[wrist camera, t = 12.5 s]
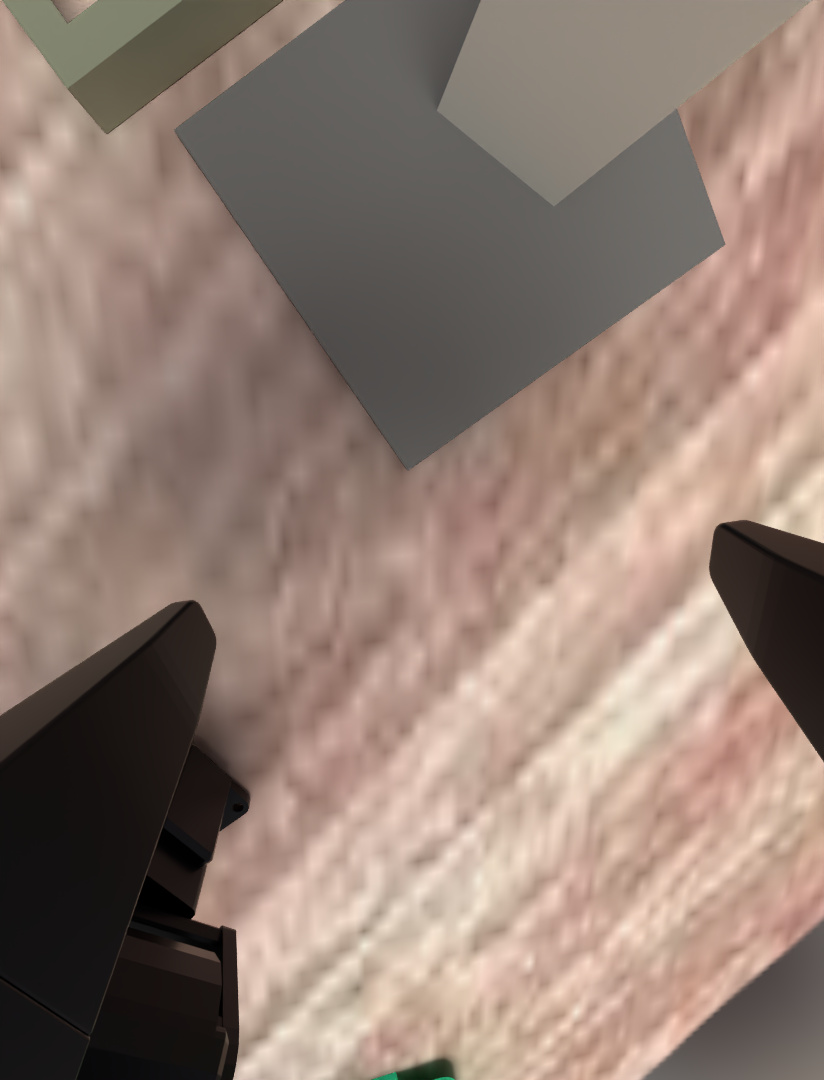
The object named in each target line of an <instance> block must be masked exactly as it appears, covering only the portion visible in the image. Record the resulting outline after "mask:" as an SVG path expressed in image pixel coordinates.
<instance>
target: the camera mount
mask: <svg viewBox="0 0 824 1080" xmlns="http://www.w3.org/2000/svg"><path fill="white" fill-rule="evenodd" d="M372 1080H398V1077H397V1074H396V1072H394V1073H391V1074H388V1075H385V1076H382V1077H378V1078H375V1079H372ZM434 1080H455V1079H453V1078H450V1077H441V1078H437V1079H434Z"/></svg>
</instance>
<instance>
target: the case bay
mask: <svg viewBox="0 0 824 1080" xmlns="http://www.w3.org/2000/svg"><path fill="white" fill-rule="evenodd" d="M2 1H3V2H4V3H5V5H6V6H7V7H8V9H9V10H10V11H11V13H12V14H13V15H14V17H15V18H16V20H17V21H18V22H19V24H20V25H21V26H22V28H23V29H24V30H25V32H26V33H27V35H28V36H29V37H30V39H31V40H32V41H33V43H34V44H35V45H36V47H37V48H38V49H39V51H40V52H41V54H42V55H43V56H44V58H45V59H46V60H47V62H48V63H49V64H50V66H51V67H52V69H53V70H54V71H55V73H56V74H57V75H58V77H59V78H60V79H61V81H62V82H63V83H64V85H65V86H66V88H67V89H68V90H69V91H70V92H71V93H72V95H73V96H74V97H75V98H76V99H77V100H78V102H79V103H80V104H81V105H82V106H83V107H84V109H85V110H86V111H87V112H88V113H89V114H90V116H91V117H92V118H93V119H94V120H95V121H96V123H97V124H98V125H99V126H100V127H101V128H102V129H103V131H104V132H105V133H106V134H107V133H109V132H110V131H111V130H113V129H114V128H115V127H117V126H118V125H119V124H121V123H122V122H123V121H125V120H126V119H127V118H128V117H130V116H131V115H132V114H134V113H135V112H136V111H138V110H139V109H140V108H142V107H143V106H144V105H146V104H147V103H148V102H150V101H151V100H152V99H153V98H155V97H156V96H157V95H159V94H160V93H161V92H163V91H164V90H165V89H167V88H168V87H169V86H171V85H172V84H173V83H175V82H176V81H177V80H178V79H180V78H181V77H182V76H184V75H185V74H186V73H188V72H189V71H190V70H192V69H193V68H194V67H196V66H197V65H198V64H200V63H201V62H202V61H203V60H205V59H206V58H207V57H209V56H210V55H211V54H213V53H214V52H215V51H217V50H218V49H219V48H221V47H222V46H223V45H225V44H226V43H227V42H228V41H230V40H231V39H232V38H234V37H235V36H236V35H238V34H239V33H240V32H242V31H243V30H244V29H246V28H247V27H248V26H250V25H251V24H252V23H253V22H255V21H256V20H257V19H259V18H260V17H261V16H263V15H264V14H265V13H267V12H268V11H269V10H271V9H272V8H273V7H275V6H276V5H277V4H278V3H280V2H281V1H282V0H98V1H97V2H95V3H94V4H93V5H91V6H90V7H89V8H87V9H86V10H85V11H84V12H82V13H81V14H80V15H78V16H77V17H76V18H75V19H73V20H72V21H71V22H69V23H68V24H67V22H66V21H65V19H64V18H63V17H62V15H61V14H60V12H59V11H58V9H57V8H56V7H55V5H54V4H53V2H52V1H51V0H2Z"/></svg>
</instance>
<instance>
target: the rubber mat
mask: <svg viewBox="0 0 824 1080" xmlns="http://www.w3.org/2000/svg"><path fill="white" fill-rule="evenodd" d="M480 1H481V0H345V1H344V2H342V3H341V4H340V5H338V6H337V7H336V8H335V9H333V10H332V11H331V12H329V13H328V14H327V15H325V16H324V17H323V18H321V19H320V20H319V21H317V22H316V23H315V24H313V25H312V26H311V27H309V28H308V29H307V30H305V31H304V32H303V33H301V34H300V35H299V36H297V37H296V38H295V39H293V40H292V41H291V42H290V43H288V44H287V45H286V46H284V47H283V48H282V49H280V50H279V51H278V52H276V53H275V54H274V55H272V56H271V57H270V58H268V59H267V60H266V61H264V62H263V63H262V64H260V65H259V66H258V67H256V68H255V69H254V70H252V71H251V72H250V73H249V74H247V75H246V76H245V77H243V78H242V79H241V80H239V81H238V82H237V83H235V84H234V85H233V86H231V87H230V88H229V89H227V90H226V91H225V92H223V93H222V94H221V95H219V96H218V97H217V98H215V99H214V100H213V101H211V102H210V103H209V104H208V105H206V106H205V107H204V108H202V109H201V110H200V111H198V112H197V113H196V114H194V115H193V116H192V117H190V118H189V119H188V120H186V121H185V122H184V123H182V124H181V125H180V126H178V127H177V128H176V129H174V130H175V132H176V134H177V136H178V137H179V139H180V140H181V142H182V143H183V145H184V146H185V148H186V149H187V151H188V152H189V153H190V155H191V156H192V158H193V159H194V161H195V162H196V164H197V165H198V167H199V168H200V170H201V171H202V172H203V174H204V175H205V177H206V178H207V180H208V181H209V183H210V184H211V186H212V187H213V188H214V190H215V191H216V193H217V194H218V196H219V197H220V199H221V200H222V202H223V203H224V204H225V206H226V207H227V209H228V210H229V212H230V213H231V215H232V216H233V218H234V219H235V220H236V222H237V223H238V225H239V226H240V228H241V229H242V231H243V232H244V234H245V235H246V237H247V238H248V239H249V241H250V242H251V244H252V245H253V247H254V248H255V250H256V251H257V253H258V254H259V255H260V257H261V258H262V260H263V261H264V263H265V264H266V266H267V267H268V269H269V270H270V271H271V273H272V274H273V276H274V277H275V279H276V280H277V282H278V283H279V285H280V286H281V287H282V289H283V290H284V292H285V293H286V295H287V296H288V298H289V299H290V301H291V302H292V303H293V305H294V306H295V308H296V309H297V311H298V312H299V314H300V315H301V317H302V318H303V320H304V321H305V322H306V324H307V325H308V327H309V328H310V330H311V331H312V333H313V334H314V336H315V337H316V338H317V340H318V341H319V343H320V344H321V346H322V347H323V349H324V350H325V352H326V353H327V354H328V356H329V357H330V359H331V360H332V362H333V363H334V365H335V366H336V368H337V369H338V370H339V372H340V373H341V375H342V376H343V378H344V379H345V381H346V382H347V384H348V385H349V387H350V388H351V389H352V391H353V392H354V394H355V395H356V397H357V398H358V400H359V401H360V403H361V404H362V405H363V407H364V408H365V410H366V411H367V413H368V414H369V416H370V417H371V419H372V420H373V421H374V423H375V424H376V426H377V427H378V429H379V430H380V432H381V433H382V435H383V436H384V437H385V439H386V440H387V442H388V443H389V445H390V446H391V448H392V449H393V451H394V452H395V453H396V455H397V456H398V458H399V459H400V461H401V462H402V464H403V465H404V467H405V468H406V469H407V470H410V469H411V468H412V467H414V466H415V465H417V464H418V463H419V462H421V461H422V460H424V459H425V458H426V457H428V456H429V455H431V454H432V453H433V452H435V451H436V450H438V449H439V448H441V447H442V446H443V445H445V444H446V443H448V442H449V441H450V440H452V439H453V438H455V437H456V436H457V435H459V434H460V433H462V432H463V431H464V430H466V429H467V428H469V427H470V426H471V425H473V424H474V423H476V422H477V421H478V420H480V419H481V418H483V417H484V416H485V415H487V414H488V413H490V412H491V411H492V410H494V409H495V408H497V407H498V406H499V405H501V404H502V403H504V402H505V401H507V400H508V399H509V398H511V397H512V396H514V395H515V394H516V393H518V392H519V391H521V390H522V389H523V388H525V387H526V386H528V385H529V384H530V383H532V382H533V381H535V380H536V379H537V378H539V377H540V376H542V375H543V374H544V373H546V372H547V371H549V370H550V369H551V368H553V367H554V366H556V365H557V364H558V363H560V362H561V361H563V360H564V359H565V358H567V357H568V356H570V355H571V354H573V353H574V352H575V351H577V350H578V349H580V348H581V347H582V346H584V345H585V344H587V343H588V342H589V341H591V340H592V339H594V338H595V337H596V336H598V335H599V334H601V333H602V332H603V331H605V330H606V329H608V328H609V327H610V326H612V325H613V324H615V323H616V322H617V321H619V320H620V319H622V318H623V317H624V316H626V315H627V314H629V313H630V312H631V311H633V310H634V309H636V308H637V307H638V306H640V305H641V304H643V303H644V302H646V301H647V300H648V299H650V298H651V297H653V296H654V295H655V294H657V293H658V292H660V291H661V290H662V289H664V288H665V287H667V286H668V285H669V284H671V283H672V282H674V281H675V280H676V279H678V278H679V277H681V276H682V275H683V274H685V273H686V272H688V271H689V270H690V269H692V268H693V267H695V266H696V265H697V264H699V263H700V262H702V261H703V260H704V259H706V258H707V257H709V256H710V255H712V254H713V253H714V252H716V251H717V250H719V249H720V248H721V247H723V246H724V245H725V242H724V239H723V236H722V234H721V231H720V228H719V225H718V222H717V220H716V217H715V214H714V211H713V209H712V206H711V203H710V200H709V197H708V195H707V192H706V189H705V186H704V183H703V181H702V178H701V175H700V172H699V169H698V167H697V164H696V161H695V158H694V155H693V153H692V150H691V147H690V144H689V141H688V139H687V136H686V133H685V130H684V127H683V125H682V122H681V119H680V116H679V114H678V111H677V109H675V110H674V111H673V112H672V113H670V114H669V115H668V116H667V117H665V118H664V119H663V120H662V121H660V122H659V123H658V124H657V125H655V126H654V127H653V128H652V129H650V130H649V131H648V132H647V133H645V134H644V135H643V136H642V137H640V138H639V139H638V140H637V141H635V142H634V143H633V144H632V145H630V146H629V147H628V148H627V149H625V150H624V151H623V152H622V153H620V154H619V155H618V156H617V157H615V158H614V159H613V160H612V161H610V162H609V163H608V164H607V165H605V166H604V167H603V168H602V169H600V170H599V171H598V172H597V173H595V174H594V175H593V176H592V177H590V178H589V179H588V180H587V181H585V182H584V183H583V184H582V185H580V186H579V187H578V188H577V189H575V190H574V191H573V192H572V193H570V194H569V195H568V196H567V197H565V198H564V199H563V200H562V201H560V202H559V203H558V204H557V205H555V206H553V205H551V204H550V203H549V202H548V201H546V200H545V199H544V198H543V197H542V196H540V195H539V194H538V193H537V192H535V191H534V190H533V189H532V188H531V187H529V186H528V185H527V184H526V183H524V182H523V181H522V180H521V179H520V178H518V177H517V176H516V175H515V174H513V173H512V172H511V171H510V170H509V169H507V168H506V167H505V166H504V165H503V164H501V163H500V162H499V161H498V160H496V159H495V158H494V157H493V156H492V155H490V154H489V153H488V152H487V151H485V150H484V149H483V148H482V147H481V146H479V145H478V144H477V143H476V142H474V141H473V140H472V139H471V138H470V137H468V136H467V135H466V134H465V133H463V132H462V131H461V130H460V129H459V128H457V127H456V126H455V125H454V124H453V123H451V122H450V121H449V120H448V119H446V118H445V117H444V116H443V115H442V114H440V113H439V112H438V111H437V109H438V106H439V104H440V101H441V99H442V96H443V94H444V91H445V89H446V86H447V84H448V81H449V79H450V76H451V74H452V71H453V69H454V66H455V64H456V61H457V59H458V56H459V54H460V51H461V49H462V46H463V44H464V41H465V39H466V36H467V34H468V31H469V29H470V26H471V24H472V21H473V19H474V16H475V14H476V11H477V9H478V6H479V4H480Z"/></svg>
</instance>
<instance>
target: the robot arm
mask: <svg viewBox="0 0 824 1080" xmlns="http://www.w3.org/2000/svg"><path fill="white" fill-rule="evenodd" d="M709 571H710V576H711V579H712V581H713V583H714V585H715V587H716V589H717V591H718V593H719V595H720V597H721V599H722V600H723V602H724V604H725V606H726V608H727V610H728V612H729V614H730V616H731V618H732V620H733V622H734V623H735V625H736V627H737V629H738V631H739V633H740V635H741V637H742V639H743V641H744V643H745V644H746V646H747V648H748V650H749V652H750V653H751V655H752V657H753V658H754V660H755V661H756V663H757V665H758V666H759V668H760V669H761V671H762V672H763V674H764V675H765V677H766V678H767V680H768V681H769V682H770V684H771V685H772V687H773V688H774V690H775V691H776V693H777V694H778V696H779V697H780V699H781V700H782V701H783V703H784V704H785V706H786V707H787V709H788V710H789V712H790V713H791V715H792V716H793V718H794V719H795V721H796V722H797V723H798V725H799V726H800V728H801V729H802V731H803V732H804V734H805V735H806V737H807V738H808V740H809V741H810V743H811V744H812V745H813V747H814V748H815V750H816V751H817V753H818V754H819V756H820V757H821V759H822V760H823V762H824V543H821V542H818V541H814V540H811V539H808V538H804V537H801V536H798V535H794V534H791V533H788V532H785V531H781V530H778V529H775V528H771V527H768V526H765V525H761V524H758V523H755V522H751V521H748V520H740V521H733V522H726V523H721V524H719V525H718V526H717V527H716V529H715V531H714V535H713V542H712V549H711V556H710V563H709ZM215 649H216V636H215V633H214V631H213V629H212V627H211V625H210V623H209V621H208V619H207V617H206V615H205V613H204V611H203V609H202V607H201V606H200V604H199V603H198V602H196V601H194V600H189V601H182V602H175V603H172V604H170V605H169V606H167V607H165V608H164V609H162V610H161V611H159V612H158V613H156V614H155V615H153V616H152V617H150V618H149V619H147V620H146V621H144V622H143V623H141V624H140V625H138V626H136V627H135V628H133V629H132V630H130V631H129V632H127V633H126V634H124V635H123V636H121V637H120V638H118V639H117V640H115V641H114V642H112V643H111V644H109V645H107V646H106V647H104V648H103V649H101V650H100V651H98V652H97V653H95V654H94V655H92V656H91V657H89V658H88V659H86V660H85V661H83V662H82V663H80V664H78V665H77V666H75V667H74V668H72V669H71V670H69V671H68V672H66V673H65V674H63V675H62V676H60V677H59V678H57V679H56V680H54V681H53V682H51V683H49V684H48V685H46V686H45V687H43V688H42V689H40V690H39V691H37V692H36V693H34V694H33V695H31V696H30V697H28V698H27V699H25V700H23V701H22V702H20V703H19V704H17V705H16V706H14V707H13V708H11V709H10V710H8V711H7V712H5V713H4V714H2V715H1V716H0V1080H233V1077H234V1072H235V1067H236V1061H237V1054H238V1046H239V1009H238V978H237V946H236V930H234V929H231V928H228V927H225V926H221V927H220V928H217V927H214V926H211V925H208V924H205V923H201V922H198V921H195V920H192V919H191V918H193V916H194V915H195V912H196V908H197V904H198V900H199V896H200V892H201V888H202V884H203V880H204V876H205V872H206V868H207V864H208V863H209V862H211V861H212V859H213V855H214V851H215V847H216V843H217V839H218V835H219V832H220V831H221V830H222V829H224V828H225V827H227V826H228V825H230V824H231V823H233V822H234V821H235V820H237V819H238V818H240V817H241V816H243V815H244V814H245V813H246V812H247V811H248V809H249V805H250V797H249V796H248V794H246V793H245V792H244V791H243V790H242V789H241V788H240V787H239V786H237V785H236V784H235V783H234V782H233V781H232V780H231V778H230V777H229V776H228V775H227V774H226V773H224V772H223V771H222V770H221V769H220V768H219V767H218V766H217V765H216V764H214V763H213V762H212V761H211V760H210V759H209V758H208V757H207V756H206V755H204V754H203V753H202V752H201V751H200V750H199V749H198V748H197V747H195V746H193V745H192V744H191V743H192V740H193V737H194V734H195V731H196V728H197V725H198V721H199V718H200V714H201V710H202V706H203V702H204V697H205V693H206V688H207V684H208V680H209V675H210V671H211V667H212V662H213V658H214V654H215ZM236 803H241V804H242V805H236Z"/></svg>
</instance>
